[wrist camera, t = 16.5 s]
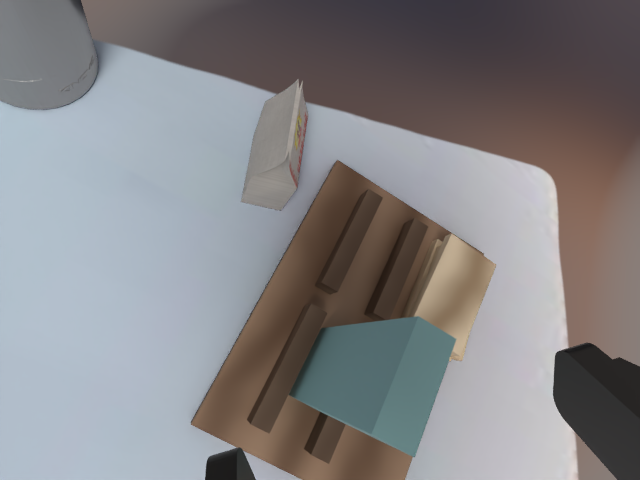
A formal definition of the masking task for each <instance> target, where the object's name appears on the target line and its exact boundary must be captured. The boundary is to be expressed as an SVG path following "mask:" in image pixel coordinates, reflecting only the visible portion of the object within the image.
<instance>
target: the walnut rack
mask: <svg viewBox="0 0 640 480" xmlns="http://www.w3.org/2000/svg"><path fill="white" fill-rule="evenodd" d="M449 234H452V233H451V232H449V231H448V230H446V229H444V228H443V227H441V226H440V225H438V224H437V223H435V222H434V221H432V220H430V219H429V218H427V217H426V216H424V215H423V214H421V213H419V212H418V211H416V210H415V209H413V208H412V207H410V206H409V205H407V204H405V203H404V202H402V201H401V200H399V199H398V198H396V197H394V196H393V195H391V194H390V193H388V192H387V191H385V190H384V189H382V188H380V187H379V186H377V185H376V184H374V183H373V182H371V181H370V180H368V179H366V178H365V177H363V176H362V175H360V174H359V173H357V172H355V171H354V170H352V169H351V168H349V167H348V166H346V165H345V164H343V163H341V162H340V161H338V160H337V161H336V163H335V164H334V165H333V167H332V169H331V171H330V173H329V174H328V176H327V178H326V180H325V182H324V183H323V185H322V187H321V189H320V191H319V192H318V194H317V196H316V198H315V200H314V201H313V203H312V205H311V207H310V209H309V210H308V212H307V214H306V216H305V218H304V219H303V221H302V223H301V225H300V227H299V228H298V230H297V232H296V234H295V236H294V237H293V239H292V241H291V243H290V245H289V246H288V248H287V250H286V252H285V254H284V255H283V257H282V259H281V261H280V263H279V264H278V266H277V268H276V270H275V272H274V273H273V275H272V277H271V279H270V281H269V283H268V284H267V286H266V288H265V290H264V292H263V293H262V295H261V297H260V299H259V301H258V302H257V304H256V306H255V308H254V310H253V311H252V313H251V315H250V317H249V319H248V320H247V322H246V324H245V326H244V328H243V329H242V331H241V333H240V335H239V337H238V338H237V340H236V342H235V344H234V346H233V347H232V349H231V351H230V353H229V355H228V356H227V358H226V360H225V362H224V364H223V365H222V367H221V369H220V371H219V373H218V374H217V376H216V378H215V380H214V382H213V383H212V385H211V387H210V389H209V391H208V392H207V394H206V396H205V398H204V400H203V401H202V403H201V405H200V407H199V409H198V411H197V412H196V414H195V416H194V418H193V420H192V421H191V425H193V426H195V427H197V428H199V429H201V430H203V431H205V432H207V433H209V434H211V435H213V436H215V437H217V438H219V439H221V440H223V441H225V442H227V443H229V444H231V445H233V446H235V447H237V448H239V447H240V448H242V450H243V451H246V452H248V453H250V454H252V455H254V456H256V457H258V458H260V459H262V460H264V461H266V462H268V463H270V464H272V465H274V466H276V467H278V468H280V469H282V470H284V471H286V472H288V473H290V474H292V475H294V476H296V477H298V478H300V479H302V480H405V477H406V475H407V472H408V469H409V466H410V463H411V460H412V456H410V455H408V454H406V453H404V452H402V451H400V450H398V449H396V448H394V447H392V446H390V445H388V444H385V443H383V442H381V441H379V440H377V439H375V438H373V437H371V436H369V435H367V434H365V433H363V432H361V431H359V430H357V429H355V428H353V427H351V426H349V425H347V424H344V423H342V422H340V421H338V420H336V419H334V418H332V417H330V416H328V415H326V414H324V413H322V412H320V411H318V410H316V409H314V408H312V407H310V406H308V405H306V404H304V403H303V402H301V401H299V400H297V399H295V398H293V397H291V396H290V395H289V393H290V391H291V389H292V386H293V384H294V382H295V380H296V378H297V376H298V374H299V372H300V370H301V368H302V366H303V364H304V362H305V360H306V358H307V356H308V354H309V352H310V350H311V348H312V346H313V344H314V341H315V339H316V337H317V335H318V333H319V331H320V329H321V328H327V327H335V326H343V325H351V324H359V323H367V322H375V321H383V320H391V319H399V318H401V316H402V314H403V311H404V309H405V306H406V304H407V301H408V299H409V297H410V294H411V292H412V289H413V287H414V284H415V282H416V279H417V277H418V274H419V272H420V270H421V267H422V265H423V262H424V260H425V257H426V255H427V252H428V250H429V248H430V245H431V243H432V241H434V240H436V239H439V240H440V241H442V242H443V240H444V238H445V236H447V235H449ZM453 235H454V234H453ZM456 237H457V236H456ZM459 239H460V238H459ZM460 240H462V239H460ZM462 241H463V240H462ZM463 242H465V241H463ZM465 243H466V242H465ZM466 244H468V243H466ZM468 245H469V244H468ZM469 246H470V247H472V248H473V249H475V250H476V251H477V252H479V253H480V254H482V255H484V254H483V253H482V252H480V251H479V250H477V249H476V248H474V247H473V246H471V245H469Z"/></svg>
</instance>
